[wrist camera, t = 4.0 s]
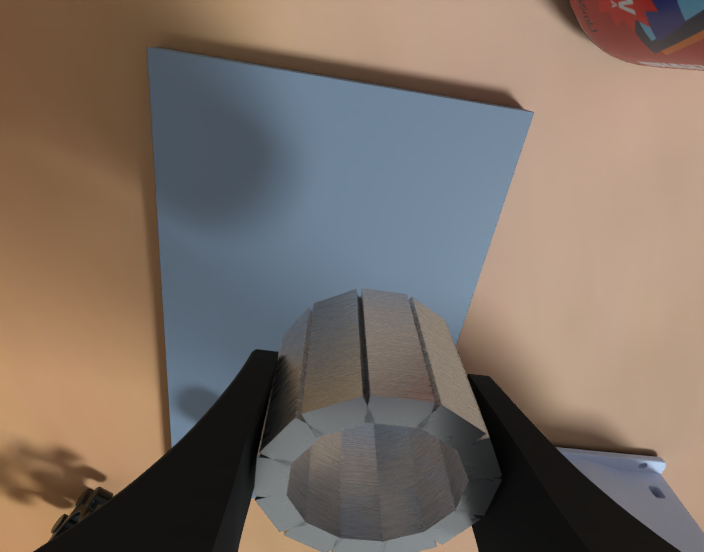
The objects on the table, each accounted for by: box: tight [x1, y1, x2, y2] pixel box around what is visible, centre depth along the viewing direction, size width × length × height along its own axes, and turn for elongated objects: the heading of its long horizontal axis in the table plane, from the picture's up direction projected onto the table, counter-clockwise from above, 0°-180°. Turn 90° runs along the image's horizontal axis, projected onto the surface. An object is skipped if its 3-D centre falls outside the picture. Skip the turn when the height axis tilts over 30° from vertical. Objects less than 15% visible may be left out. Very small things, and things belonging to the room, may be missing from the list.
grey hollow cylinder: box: [254, 288, 502, 552], centre depth 11 cm, size 5×5×4 cm
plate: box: [147, 47, 534, 498], centre depth 20 cm, size 14×24×4 cm, turn 171°
